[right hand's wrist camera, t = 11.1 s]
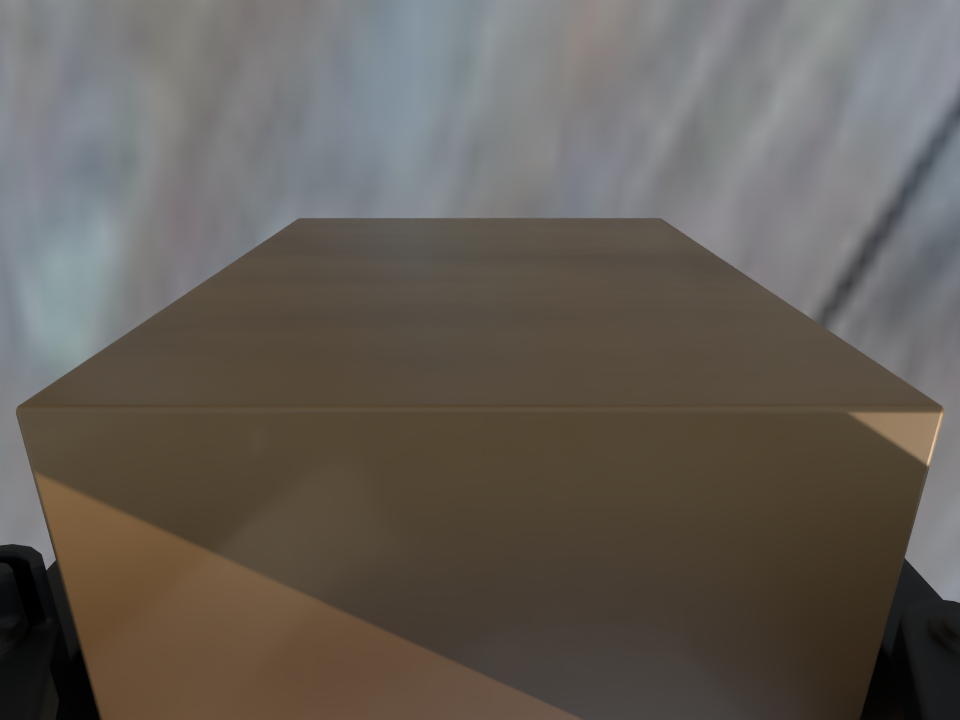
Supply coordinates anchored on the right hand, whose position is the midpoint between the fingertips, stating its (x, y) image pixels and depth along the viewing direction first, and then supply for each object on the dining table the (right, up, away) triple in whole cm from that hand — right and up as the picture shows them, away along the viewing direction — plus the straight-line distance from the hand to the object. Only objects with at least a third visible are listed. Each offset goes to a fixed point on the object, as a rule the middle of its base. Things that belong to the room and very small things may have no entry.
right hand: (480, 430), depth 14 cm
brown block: (0, +1, +2) cm, 2 cm away
